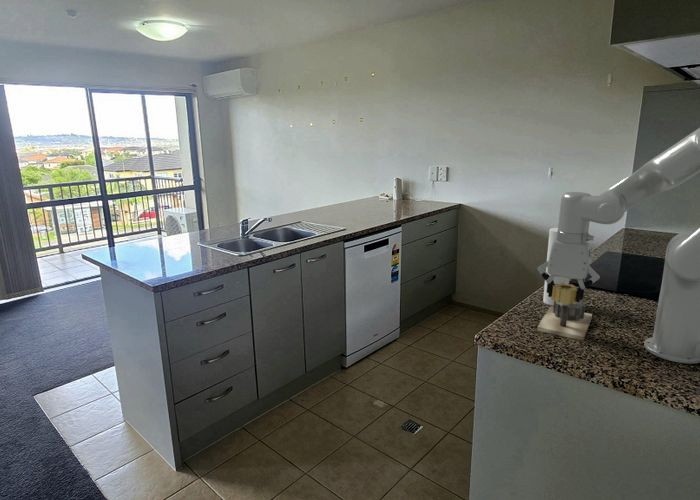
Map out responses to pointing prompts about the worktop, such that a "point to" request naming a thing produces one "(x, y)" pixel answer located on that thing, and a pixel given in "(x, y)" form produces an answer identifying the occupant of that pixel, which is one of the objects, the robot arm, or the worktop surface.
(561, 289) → the brass gear
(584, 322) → the gear board
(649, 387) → the worktop surface
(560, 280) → the cylindrical container
